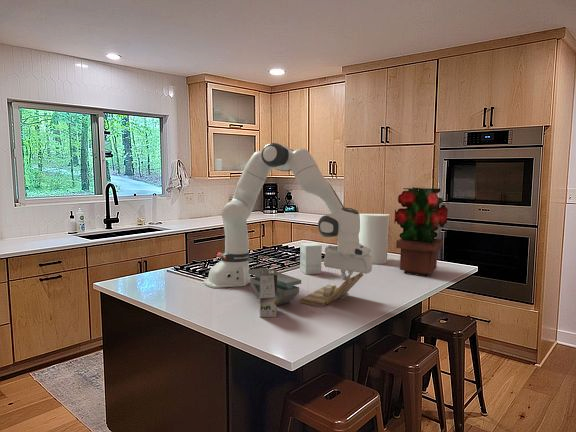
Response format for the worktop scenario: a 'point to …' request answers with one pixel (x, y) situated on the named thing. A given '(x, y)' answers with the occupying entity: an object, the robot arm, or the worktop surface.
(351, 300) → the worktop surface
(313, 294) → the light brown rectangular block
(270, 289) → the coffee box
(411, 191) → the potted plant
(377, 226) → the cylinder
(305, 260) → the supplement box
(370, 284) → the worktop surface
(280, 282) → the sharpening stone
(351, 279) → the plank
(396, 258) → the worktop surface
